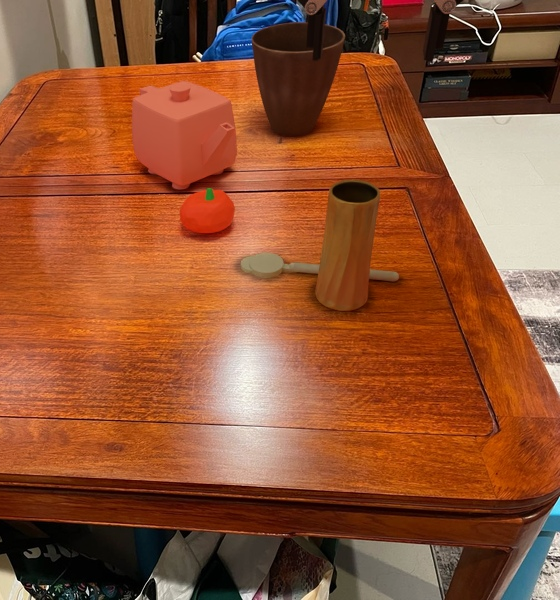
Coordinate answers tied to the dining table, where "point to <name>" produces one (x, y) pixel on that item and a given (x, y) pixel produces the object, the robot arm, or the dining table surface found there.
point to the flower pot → (294, 75)
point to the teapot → (183, 132)
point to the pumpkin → (207, 211)
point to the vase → (347, 245)
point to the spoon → (295, 267)
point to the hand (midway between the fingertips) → (371, 56)
